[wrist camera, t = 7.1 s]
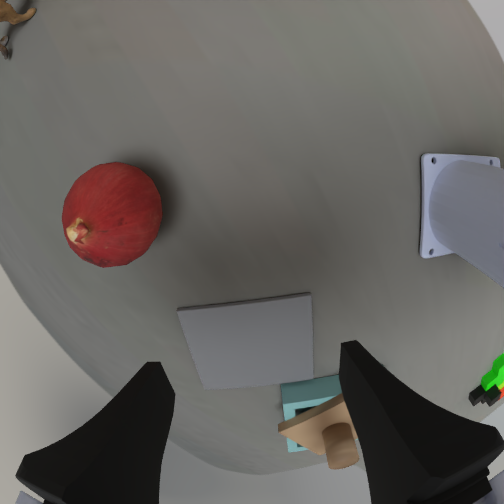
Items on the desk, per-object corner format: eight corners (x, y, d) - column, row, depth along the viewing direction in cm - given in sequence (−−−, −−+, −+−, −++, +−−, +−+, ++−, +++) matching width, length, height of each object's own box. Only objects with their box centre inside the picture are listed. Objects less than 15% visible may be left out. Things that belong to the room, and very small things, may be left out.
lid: (353, 386, 21) (369, 431, 16) (382, 416, 23) (396, 453, 18) (277, 424, 23) (281, 467, 18) (318, 448, 25) (324, 484, 20)
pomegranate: (163, 252, 19) (118, 316, 12) (94, 226, 18) (27, 272, 11) (187, 172, 17) (141, 193, 10) (111, 149, 16) (34, 159, 9)
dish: (382, 364, 23) (391, 381, 21) (368, 419, 27) (374, 435, 25) (280, 383, 24) (282, 404, 21) (286, 435, 27) (288, 452, 25)
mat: (310, 292, 20) (311, 295, 20) (312, 375, 23) (313, 378, 23) (177, 308, 21) (176, 311, 20) (205, 386, 24) (204, 389, 24)
